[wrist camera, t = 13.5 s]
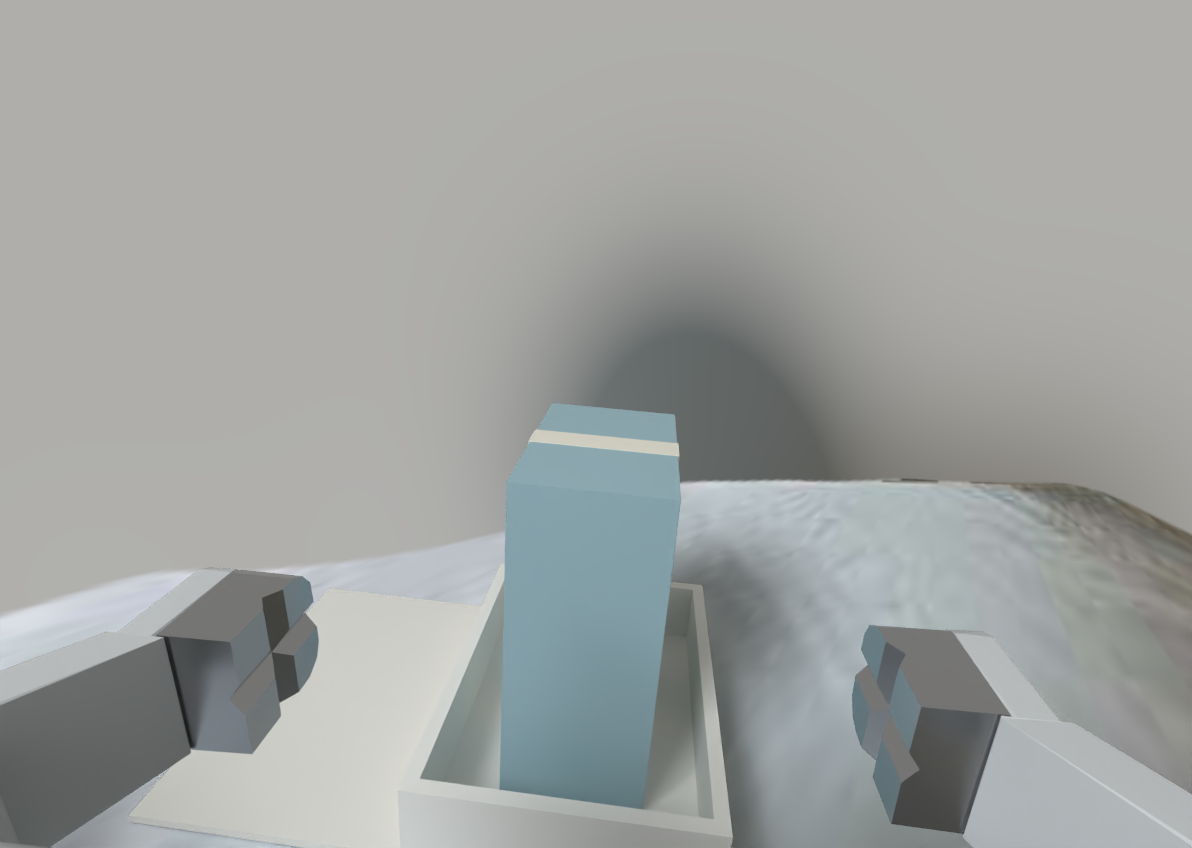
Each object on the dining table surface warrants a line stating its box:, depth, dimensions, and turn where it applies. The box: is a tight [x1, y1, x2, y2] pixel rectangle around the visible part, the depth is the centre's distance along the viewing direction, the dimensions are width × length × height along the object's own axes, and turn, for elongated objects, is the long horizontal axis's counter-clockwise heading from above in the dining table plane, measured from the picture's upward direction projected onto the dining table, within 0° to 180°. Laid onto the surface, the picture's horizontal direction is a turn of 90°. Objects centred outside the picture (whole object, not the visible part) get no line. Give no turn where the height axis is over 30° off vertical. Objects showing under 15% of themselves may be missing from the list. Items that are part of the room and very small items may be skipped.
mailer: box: [128, 563, 733, 848], centre depth 25 cm, size 19×13×3 cm
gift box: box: [499, 403, 681, 809], centre depth 23 cm, size 5×8×12 cm, turn 174°
